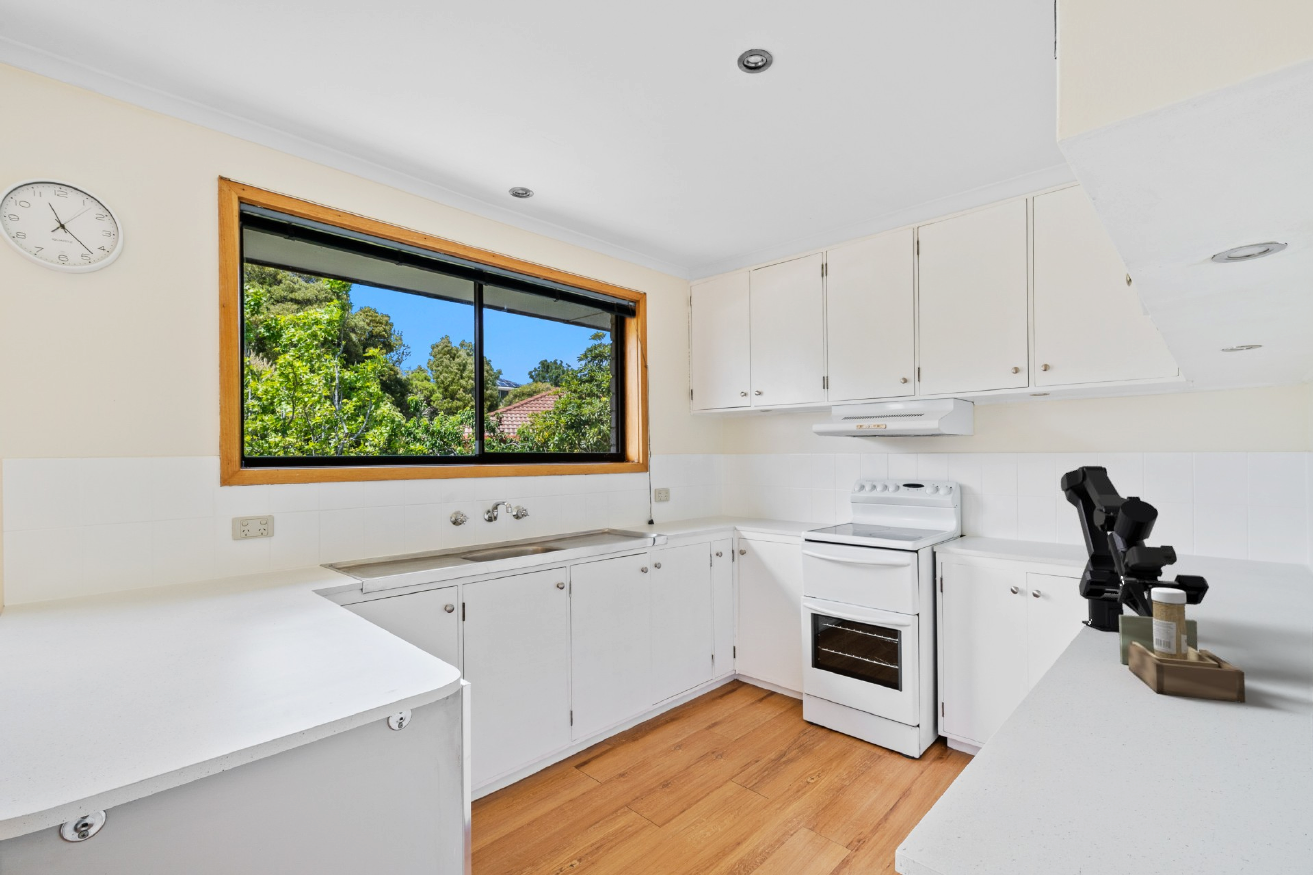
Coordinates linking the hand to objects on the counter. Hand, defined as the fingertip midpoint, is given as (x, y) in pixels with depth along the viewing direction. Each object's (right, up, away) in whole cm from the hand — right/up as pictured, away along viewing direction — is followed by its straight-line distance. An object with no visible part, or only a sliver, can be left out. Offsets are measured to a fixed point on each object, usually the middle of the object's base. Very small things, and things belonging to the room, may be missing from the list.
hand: (1155, 626), depth 113 cm
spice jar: (-3, -5, -7) cm, 9 cm away
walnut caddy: (-4, -6, -10) cm, 13 cm away
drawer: (-2, -7, -6) cm, 9 cm away
